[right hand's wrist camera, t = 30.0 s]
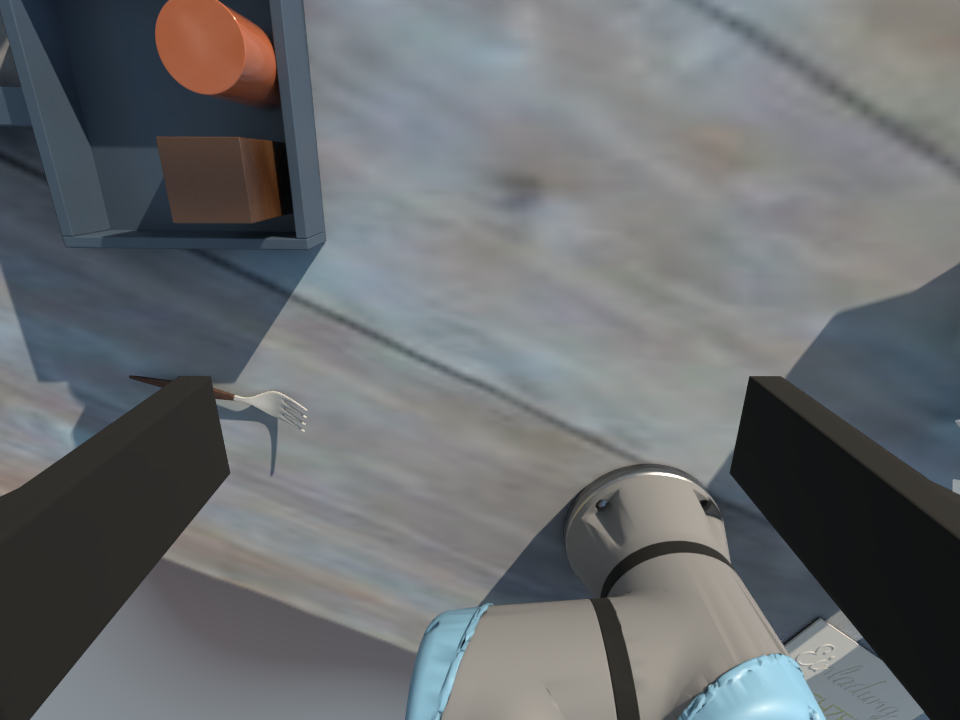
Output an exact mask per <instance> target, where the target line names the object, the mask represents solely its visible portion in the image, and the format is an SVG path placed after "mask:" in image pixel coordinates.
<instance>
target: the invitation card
mask: <svg viewBox="0 0 960 720" xmlns="http://www.w3.org/2000/svg"><path fill="white" fill-rule="evenodd" d="M784 647H785V649H786V650H787V652H788V653H789V655H790V656H791V658H792V659H793V660H795V661H796V662H797V663H798V665H799V666H800V668H801V670H802V672H803V675H804V679H805V681H806V683H807V684H808V686H809V688H810V690H811V692H812V694H813V696H814V697H815V699H816V701H817V703H818V705H819V707H820V709H821V711H822V712H823V714H824V716H825V719H826V720H913V719H915V718H916V717H918V716H919V715H921V714H922V713H924V711H923V710H922V709H921V708H920V706H919V705H918V704H917V703H916V701H915V700H914V699H913V698H912V697H911V695H910V694H909V693H908V692H907V690H906V689H905V688H904V687H903V685H902V684H901V683H900V682H899V681H898V679H897V678H896V677H895V676H894V674H893V673H892V672H891V671H890V669H889V668H888V667H887V666H886V665H885V663H884V662H883V661H882V660H881V659H880V658H878V657H877V656H875V655H874V654H872V653H871V652H869V651H868V650H866V649H865V648H863V647H862V646H861V645H859V644H858V643H856V642H855V641H853V640H852V639H850V638H849V637H847V636H846V635H844V634H843V633H842V632H840V631H839V630H837V629H836V628H834V627H833V626H831V625H830V624H828V623H827V622H825V621H824V620H823V619H821V618H819V619H818V620H816V621H815V622H814V623H813V624H811V625H810V626H809V627H807V628H806V629H805V630H803V631H802V632H801V633H800V634H798V635H797V636H796V637H794V638H793V639H792V640H790V641H789V642H788V643H787V644H785V645H784Z"/></svg>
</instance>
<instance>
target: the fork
mask: <svg viewBox="0 0 960 720" xmlns="http://www.w3.org/2000/svg"><path fill="white" fill-rule="evenodd" d="M129 378H131V379H134V380H137V381H141V382H144V383H148V384H152V385H155V386H159V387H162V388H163V387H165V386H166V385H167V384H169V383H170V382H172V380H163V379H156V378H149V377H141V376H129ZM213 391H214V396H215V399H223V400H233V401H241V402H246V403H248V404H251V405H253V406H254V407H256V408H258V409H260V410H261V411H263V412H265V413H267V414H269V415H271V416H273V417H275V418H278V419H281V420H283V421H285V422H287V423H289V424H291V425H293V426H295V427H296V428H298V429H300V430H301V431H303V432H305V431H304V430H303V429H302V428H300V427H299V426H298V425H296V424H295V423H293V422H292V421H290V420H289V419H287V418H286V417H285V416H284V414H285V415H288V416H290V417H292V418H293V419H295V420H297V421H299V422H300V423H302V424H304V425H306V424H305V423H304V422H303V421H301V420H300V419H298V418H297V417H295V416H294V415H292V414H291V413H289V412H288V411H286V410H285V409H284V408H285V407H286V408H288V409H290V410H292V411H294V412H296V413H298V414H300V415H301V416H303V417H304V418H307V417H306V416H305V415H303V414H302V413H301V412H299V411H298V410H296V409H295V408H293V407H292V406H290V405H288V404H287V403H286V402H285V400H286V401H289V402H291V403H293V404H295V405H297V406H299V407H300V408H302V409H304V410H305V411H307V409H306V408H304V407H303V406H301V405H300V404H298V403H297V402H296V401H294V400H292V399H291V398H289V397H287V396H286V395H284V394H282V393H280V392H276V391H269V392H265V393H262V394H259V395H256V396H253V397H249V398H245V397H240V396H237V395H233V394H230V393H227V392H224V391H221V390H218V389H215V388H213Z"/></svg>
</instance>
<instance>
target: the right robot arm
mask: <svg viewBox="0 0 960 720" xmlns="http://www.w3.org/2000/svg"><path fill="white" fill-rule="evenodd" d="M229 474H230V469H229V465H228V460H227V455H226V450H225V445H224V440H223V435H222V430H221V425H220V420H219V415H218V410H217V406H216V401H215V396H214V391H213V386H212V381H211V376H179V377H177V378H176V379H175V380H173V381H172V382H170V383H169V384H167V385H166V386H165V387H163V388H162V389H160V390H159V391H157V392H156V393H155V394H153V395H152V396H150V397H149V398H147V399H146V400H145V401H143V402H142V403H140V404H139V405H137V406H136V407H134V408H133V409H132V410H130V411H129V412H127V413H126V414H124V415H123V416H122V417H120V418H119V419H117V420H116V421H114V422H113V423H112V424H110V425H109V426H107V427H106V428H104V429H103V430H101V431H100V432H99V433H97V434H96V435H94V436H93V437H91V438H90V439H89V440H87V441H86V442H84V443H83V444H81V445H80V446H79V447H77V448H76V449H74V450H73V451H71V452H70V453H69V454H67V455H66V456H64V457H63V458H61V459H60V460H58V461H57V462H56V463H54V464H53V465H51V466H50V467H48V468H47V469H46V470H44V471H43V472H41V473H40V474H38V475H37V476H36V477H34V478H33V479H31V480H30V481H28V482H27V483H26V484H24V485H23V486H21V487H20V488H18V489H16V490H14V491H12V492H9V493H7V494H5V495H3V496H1V497H0V720H30V719H31V717H32V716H33V715H34V714H35V712H36V711H37V710H38V709H39V707H40V706H41V705H42V704H43V703H44V701H45V700H46V699H47V698H48V696H49V695H50V694H51V693H52V692H53V690H54V689H55V688H56V687H57V685H58V684H59V683H60V682H61V681H62V679H63V678H64V677H65V676H66V674H67V673H68V672H69V671H70V669H71V668H72V667H73V666H74V665H75V663H76V662H77V661H78V660H79V658H80V657H81V656H82V655H83V653H84V652H85V651H86V650H87V649H88V647H89V646H90V645H91V644H92V642H93V641H94V640H95V639H96V638H97V636H98V635H99V634H100V633H101V631H102V630H103V629H104V628H105V626H106V625H107V624H108V623H109V622H110V620H111V619H112V618H113V617H114V615H115V614H116V613H117V612H118V610H119V609H120V608H121V607H122V606H123V604H124V603H125V602H126V601H127V599H128V598H129V597H130V596H131V595H132V593H133V592H134V591H135V590H136V588H137V587H138V586H139V585H140V583H141V582H142V581H143V580H144V579H145V577H146V576H147V575H148V574H149V572H150V571H151V570H152V569H153V568H154V566H155V565H156V564H157V563H158V561H159V560H160V559H161V558H162V556H163V555H164V554H165V553H166V552H167V550H168V549H169V548H170V547H171V545H172V544H173V543H174V542H175V541H176V539H177V538H178V537H179V536H180V534H181V533H182V532H183V531H184V529H185V528H186V527H187V526H188V525H189V523H190V522H191V521H192V520H193V518H194V517H195V516H196V515H197V513H198V512H199V511H200V510H201V509H202V507H203V506H204V505H205V504H206V502H207V501H208V500H209V499H210V498H211V496H212V495H213V494H214V493H215V491H216V490H217V489H218V488H219V486H220V485H221V484H222V483H223V482H224V480H225V479H226V478H227V477H228V475H229ZM730 474H731V475H732V477H733V478H734V479H735V480H736V482H737V483H738V484H739V485H740V486H741V488H742V489H743V490H744V491H745V493H746V494H747V495H748V496H749V498H750V499H751V500H752V501H753V502H754V504H755V505H756V506H757V507H758V509H759V510H760V511H761V512H762V513H763V515H764V516H765V517H766V518H767V520H768V521H769V522H770V523H771V525H772V526H773V527H774V528H775V529H776V531H777V532H778V533H779V534H780V536H781V537H782V538H783V539H784V541H785V542H786V543H787V544H788V545H789V547H790V548H791V549H792V550H793V552H794V553H795V554H796V555H797V556H798V558H799V559H800V560H801V561H802V563H803V564H804V565H805V566H806V568H807V569H808V570H809V571H810V572H811V574H812V575H813V576H814V577H815V579H816V580H817V581H818V582H819V584H820V585H821V586H822V587H823V588H824V590H825V591H826V592H827V593H828V595H829V596H830V597H831V598H832V599H833V601H834V602H835V603H836V604H837V606H838V607H839V608H840V609H841V611H842V612H843V613H844V614H845V615H846V617H847V618H848V619H849V620H850V622H851V623H852V624H853V625H854V626H855V628H856V629H857V630H858V631H859V633H860V634H861V635H862V636H863V638H864V639H865V640H866V641H867V642H868V644H869V645H870V646H871V647H872V649H873V650H874V651H875V652H876V654H877V655H878V656H879V657H880V658H881V660H882V661H883V662H884V663H885V665H886V666H887V667H888V668H889V669H890V671H891V672H892V673H893V674H894V676H895V677H896V678H897V679H898V681H899V682H900V683H901V684H902V685H903V687H904V688H905V689H906V690H907V692H908V693H909V694H910V695H911V697H912V698H913V699H914V700H915V701H916V703H917V704H918V705H919V706H920V708H921V709H922V710H923V711H924V712H925V714H926V715H927V716H928V717H929V719H930V720H960V494H958V493H955V492H953V491H951V490H949V489H947V488H945V487H943V486H940V485H938V484H936V483H934V482H932V481H930V480H929V479H927V478H926V477H924V476H923V475H922V474H920V473H919V472H917V471H916V470H914V469H913V468H912V467H910V466H909V465H907V464H906V463H904V462H903V461H902V460H900V459H899V458H897V457H896V456H894V455H893V454H891V453H890V452H889V451H887V450H886V449H884V448H883V447H881V446H880V445H879V444H877V443H876V442H874V441H873V440H871V439H870V438H869V437H867V436H866V435H864V434H863V433H861V432H860V431H858V430H857V429H856V428H854V427H853V426H851V425H850V424H848V423H847V422H846V421H844V420H843V419H841V418H840V417H838V416H837V415H836V414H834V413H833V412H831V411H830V410H828V409H827V408H826V407H824V406H823V405H821V404H820V403H818V402H817V401H815V400H814V399H813V398H811V397H810V396H808V395H807V394H805V393H804V392H803V391H801V390H800V389H798V388H797V387H795V386H794V385H793V384H791V383H790V382H788V381H787V380H785V379H784V378H783V377H781V376H749V381H748V386H747V391H746V396H745V401H744V405H743V410H742V415H741V420H740V425H739V430H738V435H737V440H736V445H735V450H734V455H733V460H732V465H731V469H730ZM564 543H565V547H566V552H567V556H568V560H569V563H570V565H571V567H572V569H573V571H574V573H575V574H576V575H577V577H578V578H579V579H580V581H581V582H582V583H583V585H584V586H585V588H586V589H587V590H588V592H589V593H590V594H591V596H592V597H593V598H594V599H579V600H565V601H550V602H536V603H522V604H508V605H493V603H485V604H483V605H482V606H480V607H473V608H465V609H457V610H450V611H446V612H443V613H441V614H440V615H438V616H437V617H436V618H435V619H434V620H433V621H432V622H431V623H430V625H429V626H428V628H427V629H426V631H425V634H424V636H423V638H422V640H421V643H420V646H419V650H418V653H417V656H416V660H415V664H414V669H413V673H412V678H411V683H410V689H409V695H408V702H407V709H406V717H405V720H826V719H825V716H824V714H823V712H822V711H821V709H820V707H819V705H818V703H817V701H816V699H815V697H814V696H813V694H812V692H811V690H810V688H809V686H808V684H807V683H806V681H805V679H804V675H803V672H802V670H801V668H800V666H799V665H798V663H797V662H796V661H795V660H793V659H792V658H791V656H790V655H789V653H788V652H787V650H786V649H785V647H784V646H783V644H782V642H781V641H780V639H779V638H778V636H777V635H776V633H775V632H774V630H773V628H772V627H771V625H770V624H769V622H768V621H767V619H766V618H765V616H764V614H763V613H762V611H761V610H760V608H759V607H758V605H757V604H756V602H755V601H754V599H753V597H752V596H751V594H750V593H749V591H748V590H747V588H746V587H745V585H744V583H743V582H742V580H741V579H740V577H739V576H738V574H737V573H736V571H735V570H734V568H733V566H732V565H731V561H730V556H729V550H728V544H727V538H726V533H725V527H724V521H723V517H722V514H721V511H720V509H719V507H718V505H717V504H716V502H715V501H714V500H713V498H712V497H711V495H710V494H709V492H708V491H707V490H706V488H705V487H704V486H703V485H702V484H701V483H700V482H699V481H698V480H697V479H695V478H694V477H692V476H691V475H689V474H687V473H686V472H684V471H681V470H679V469H676V468H673V467H669V466H665V465H658V464H639V465H632V466H627V467H623V468H620V469H617V470H614V471H611V472H609V473H607V474H605V475H603V476H601V477H600V478H598V479H596V480H595V481H593V482H592V483H591V484H589V485H588V486H587V487H586V488H585V489H584V490H583V491H582V492H581V493H580V494H579V495H578V496H577V498H576V499H575V500H574V502H573V503H572V505H571V507H570V509H569V511H568V513H567V516H566V519H565V523H564Z"/></svg>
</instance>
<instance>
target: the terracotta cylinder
mask: <svg viewBox="0 0 960 720" xmlns="http://www.w3.org/2000/svg"><path fill="white" fill-rule="evenodd" d="M155 40H156V46H157V50H158V53H159V56H160V59H161V61H162V63H163V65H164V66H165V68H166V70H167V71H168V72H169V74H170V75H171V76H172V77H173V78H174V79H175V80H176V81H177V82H178V83H179V84H180V85H182V86H183V87H185V88H186V89H188V90H190V91H192V92H195V93H198V94H202V95H206V96H210V97H214V98H217V99H221V100H225V101H229V102H233V103H237V104H241V105H244V106H248V107H252V108H256V109H260V110H272V109H276V108H278V107H280V106H281V101H280V92H279V83H278V75H277V66H276V57H275V49H274V40H273V35H272V34H270V33H269V32H267V31H265V30H264V29H262V28H261V27H259V26H257V25H256V24H254V23H253V22H251V21H250V20H248V19H246V18H245V17H243V16H242V15H240V14H239V13H237V12H235V11H234V10H232V9H231V8H229V7H228V6H226V5H224V4H223V3H221V2H220V1H218V0H169V1H168V2H167V3H166V4H165V5H164V6H163V8H162V9H161V11H160V13H159V15H158V18H157V22H156V28H155Z"/></svg>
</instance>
